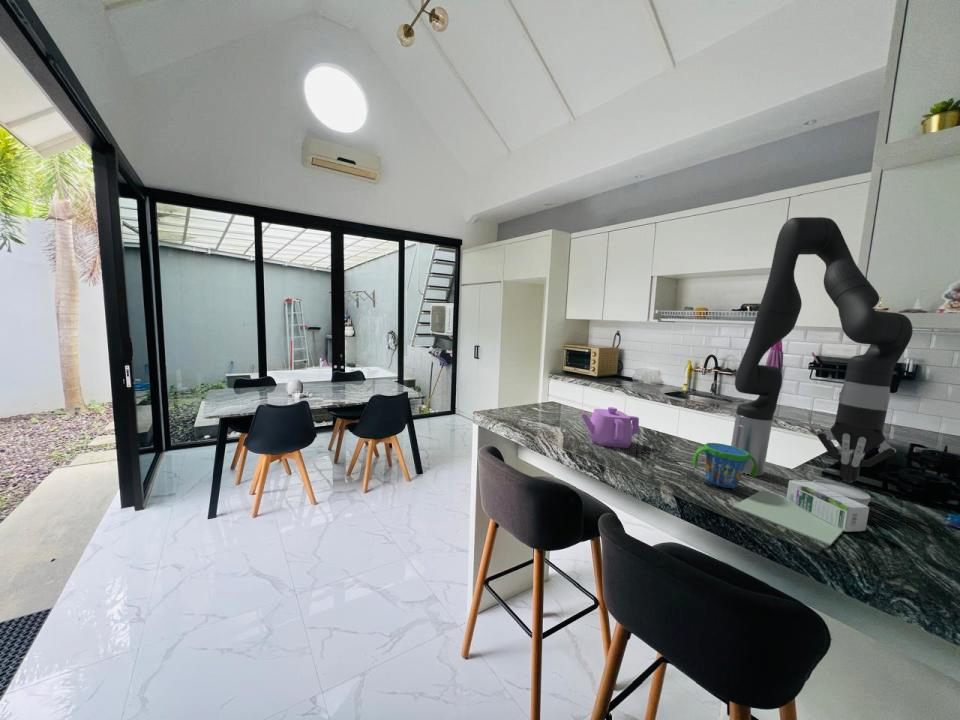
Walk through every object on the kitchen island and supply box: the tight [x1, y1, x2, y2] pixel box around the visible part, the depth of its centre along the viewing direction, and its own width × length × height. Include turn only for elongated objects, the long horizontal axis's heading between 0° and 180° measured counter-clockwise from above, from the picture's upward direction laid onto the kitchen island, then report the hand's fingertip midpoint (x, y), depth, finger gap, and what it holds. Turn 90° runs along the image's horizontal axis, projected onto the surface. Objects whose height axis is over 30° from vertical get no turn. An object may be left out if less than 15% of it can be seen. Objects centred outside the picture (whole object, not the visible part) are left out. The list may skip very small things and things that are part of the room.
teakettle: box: [580, 406, 640, 449], centre depth 140 cm, size 17×17×12 cm
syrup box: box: [786, 479, 870, 533], centre depth 93 cm, size 6×6×14 cm
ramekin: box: [811, 479, 872, 506], centre depth 99 cm, size 11×11×5 cm
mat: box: [732, 489, 844, 547], centre depth 93 cm, size 20×18×1 cm
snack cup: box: [692, 442, 757, 490], centre depth 108 cm, size 16×10×10 cm
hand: (847, 481), depth 86 cm, fingers closed
